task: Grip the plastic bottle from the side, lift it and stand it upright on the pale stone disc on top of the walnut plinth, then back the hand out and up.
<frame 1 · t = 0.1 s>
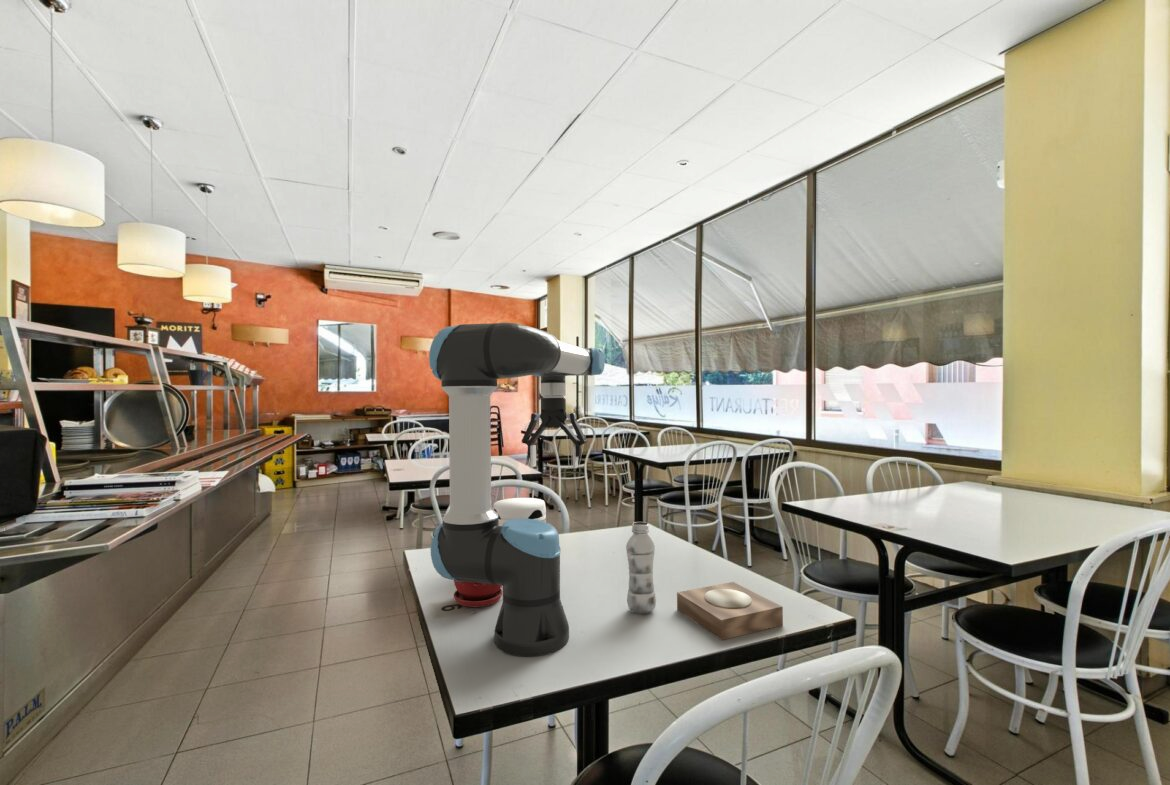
hand: (554, 467, 155), 28 cm above the table, tool pointing down, fingers open, 13 cm apart
plastic bottle: (641, 612, 117), on the table
milk container: (520, 564, 152), on the table
plant pot: (480, 601, 124), on the table
walnut plinth: (728, 617, 113), on the table
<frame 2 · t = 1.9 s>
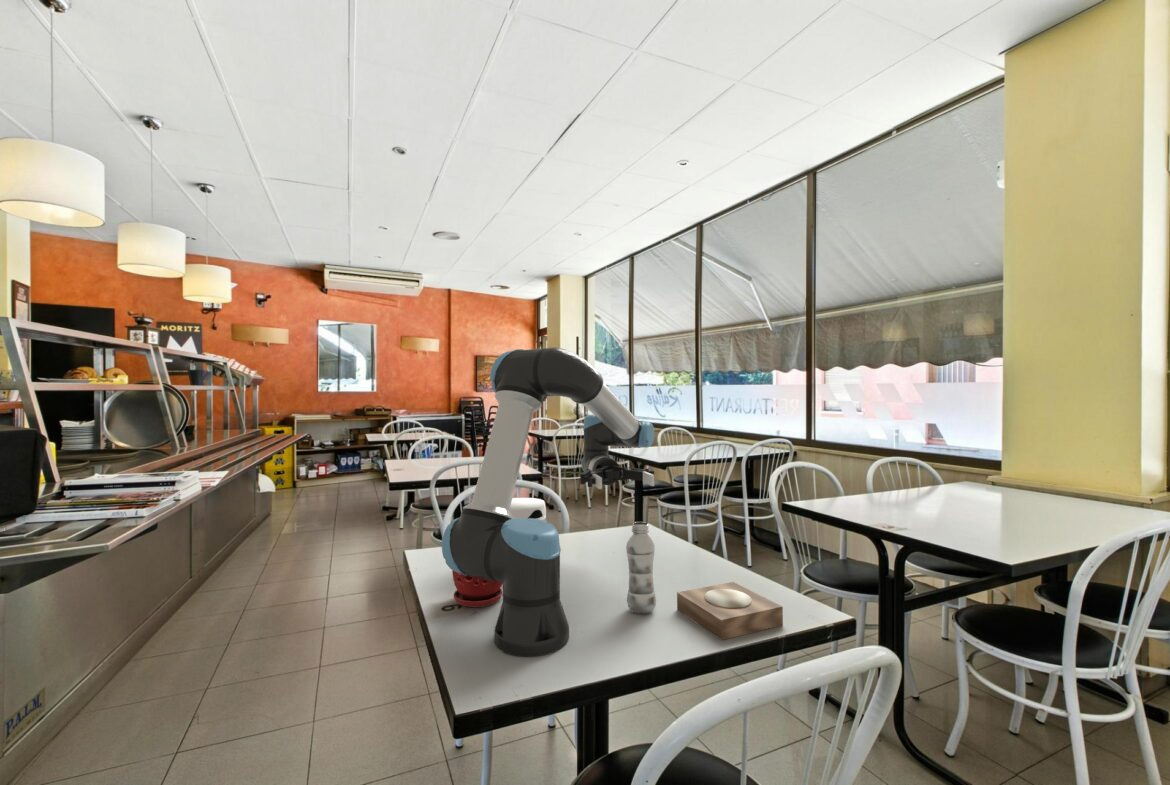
hand: (627, 482, 126), 28 cm above the table, tool horizontal, fingers open, 13 cm apart
nothing on the table moved.
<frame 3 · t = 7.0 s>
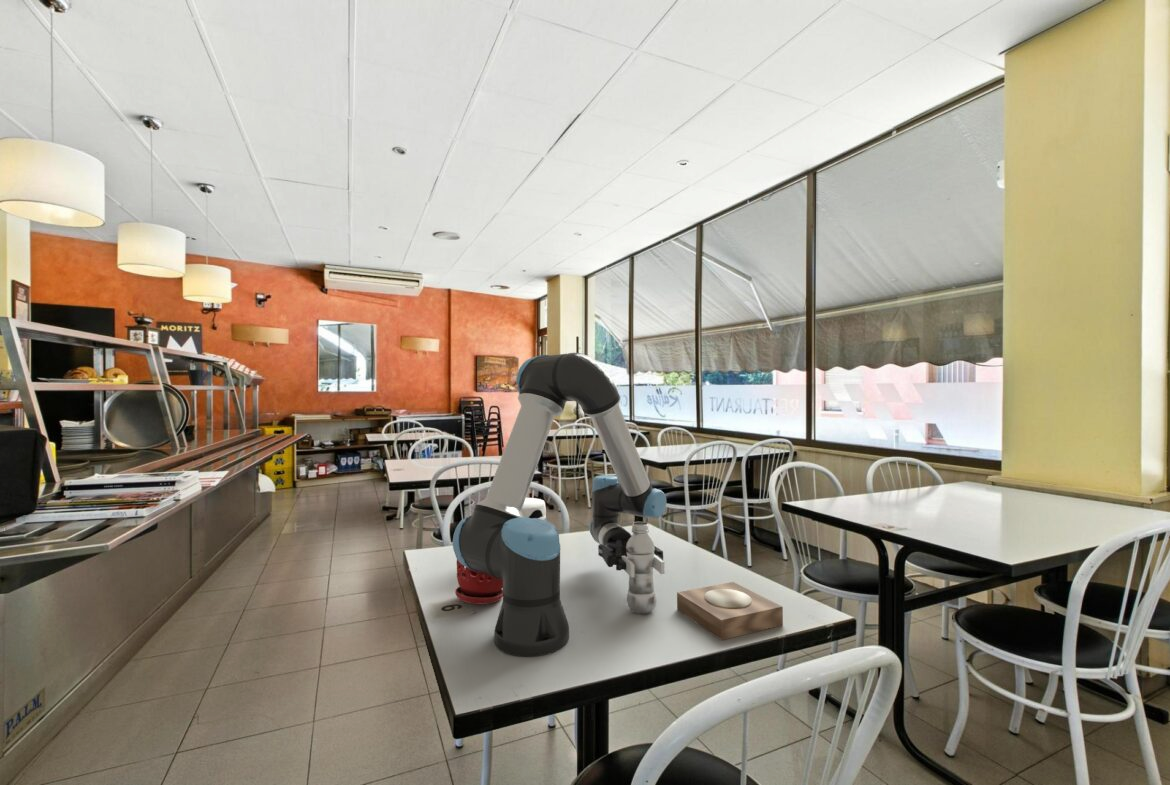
hand: (647, 569, 112), 11 cm above the table, tool horizontal, fingers closed on plastic bottle, 6 cm apart
plastic bottle: (641, 612, 117), on the table, touching gripper
plant pot: (480, 599, 124), on the table, touching arm
everything else where it was.
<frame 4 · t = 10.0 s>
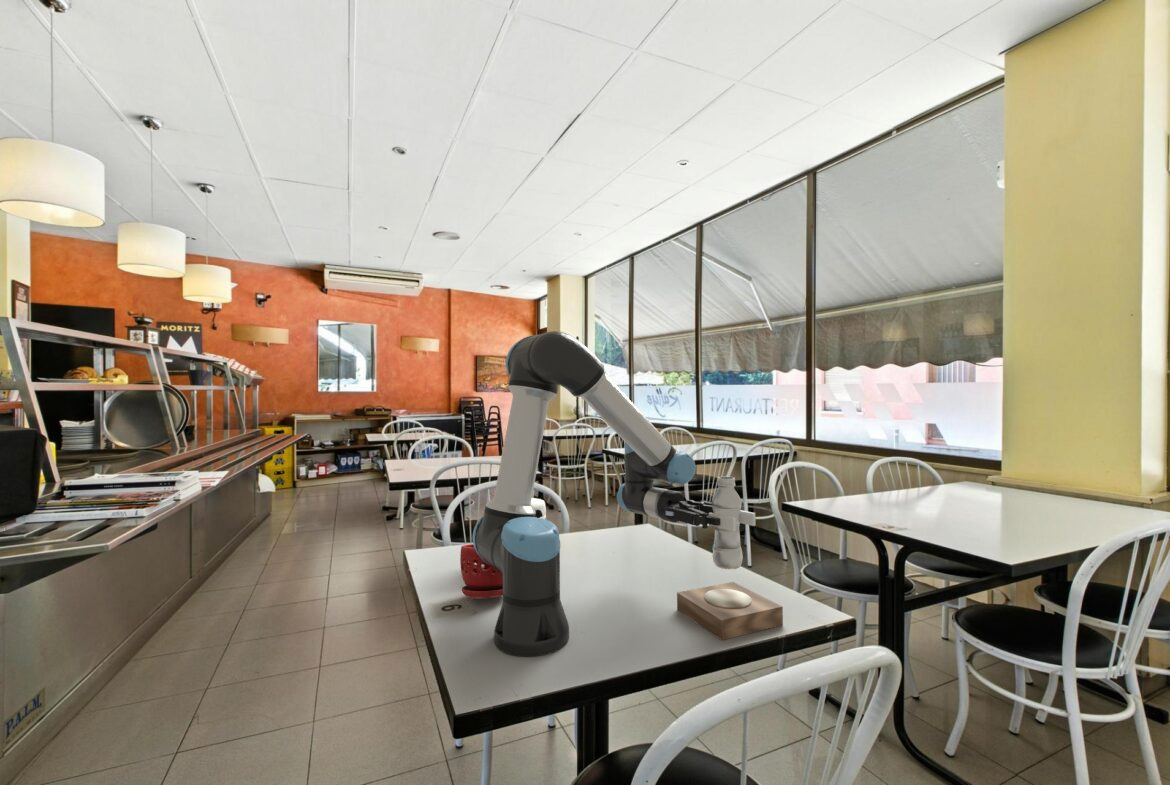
hand: (744, 522, 110), 22 cm above the table, tool horizontal, fingers closed on plastic bottle, 6 cm apart
plastic bottle: (727, 568, 113), point 11 cm above the table, touching gripper
plant pot: (487, 596, 125), point 1 cm above the table, touching arm
everything else where it was.
when the fingers open (17 cm above the table, at t = 11.6 s): plastic bottle drops 1 cm, resting on walnut plinth.
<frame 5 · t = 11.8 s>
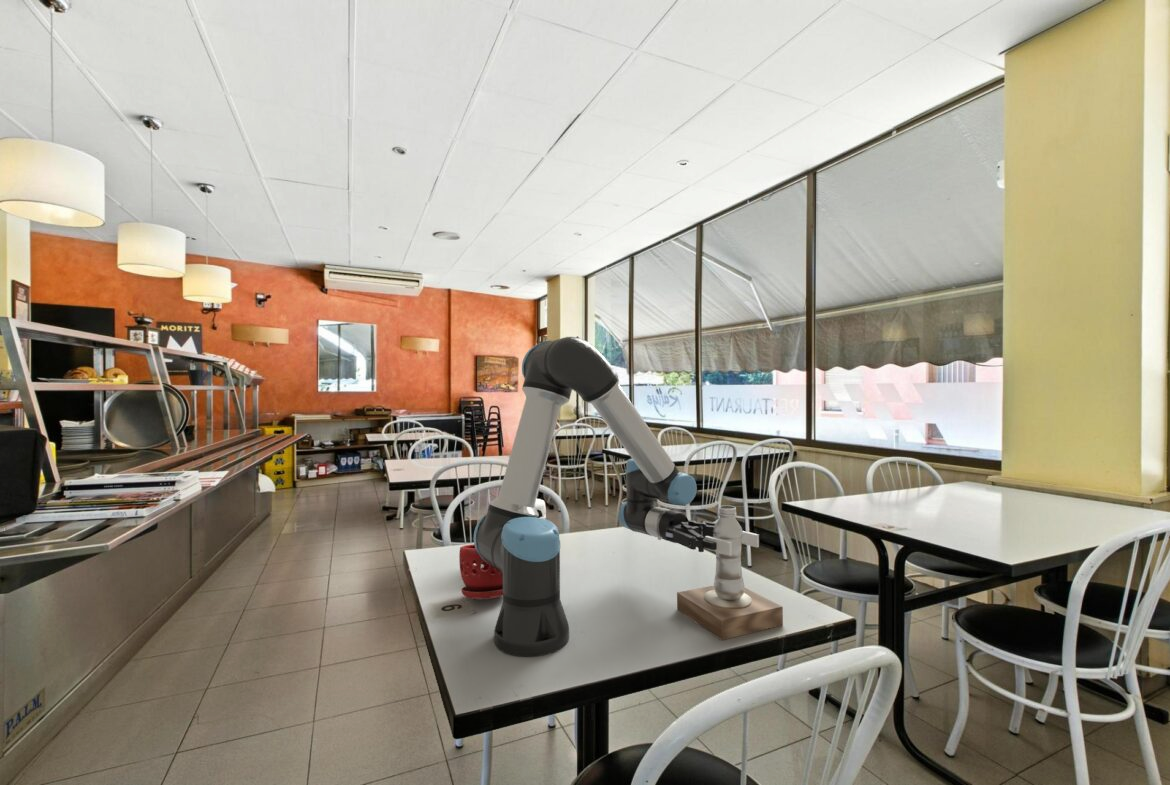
hand: (744, 545, 109), 17 cm above the table, tool horizontal, fingers open, 9 cm apart
plastic bottle: (729, 598, 113), point 4 cm above the table, touching walnut plinth
everything else where it was.
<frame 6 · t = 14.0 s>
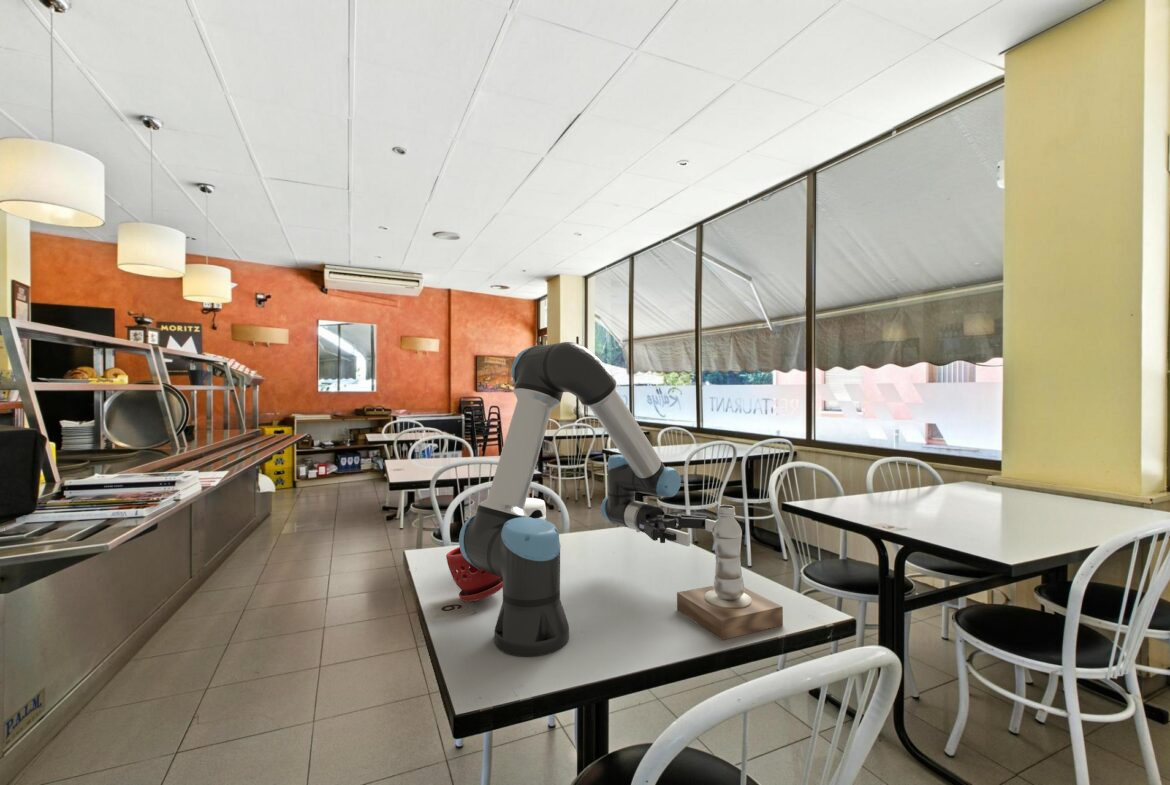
hand: (709, 534, 117), 17 cm above the table, tool horizontal, fingers open, 13 cm apart
plant pot: (486, 593, 125), point 1 cm above the table
everything else where it was.
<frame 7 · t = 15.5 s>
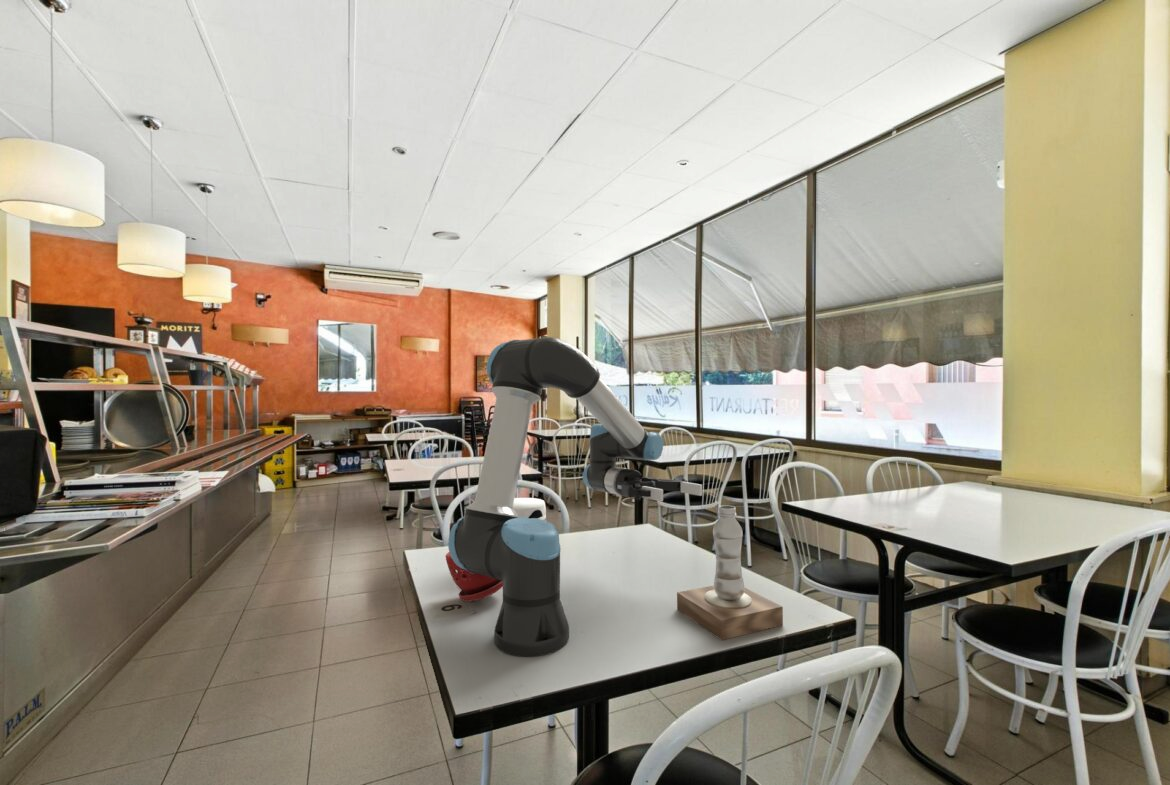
hand: (682, 492, 123), 26 cm above the table, tool horizontal, fingers open, 13 cm apart
nothing on the table moved.
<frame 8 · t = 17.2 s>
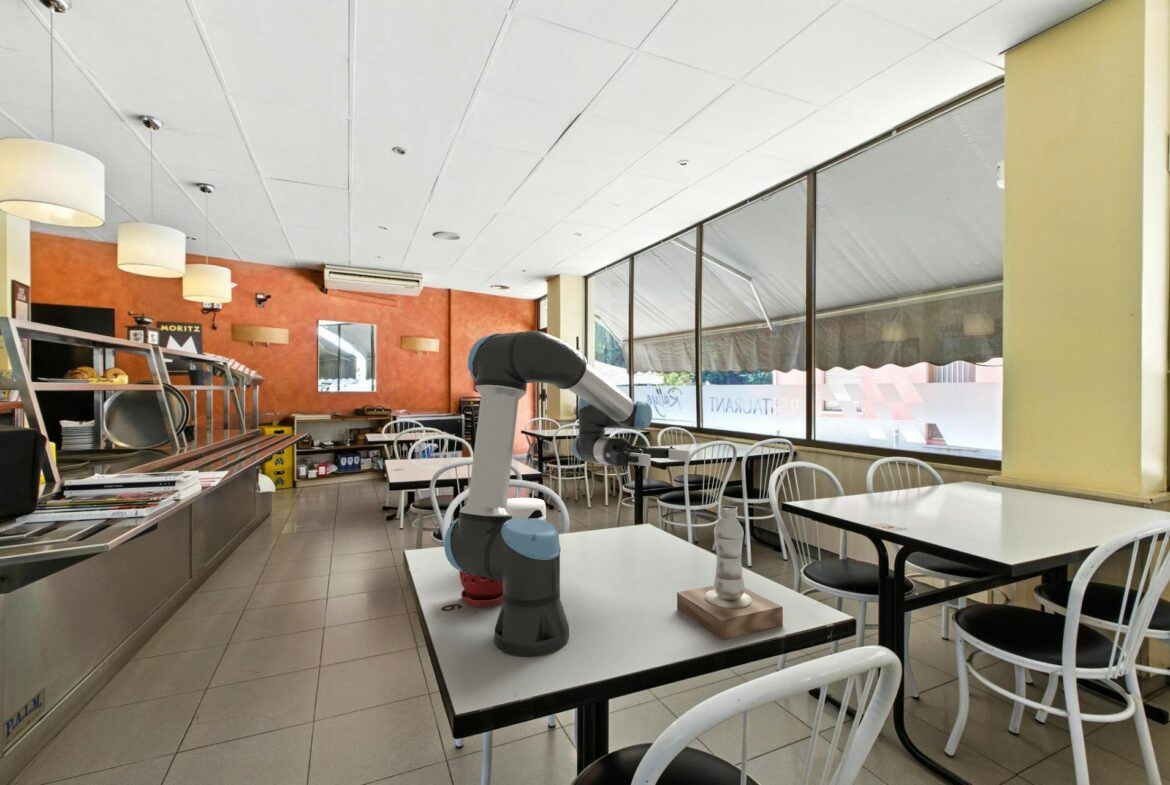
hand: (669, 458, 124), 34 cm above the table, tool horizontal, fingers open, 13 cm apart
plant pot: (487, 600, 125), on the table
everything else where it was.
at the end: plastic bottle inside the target area on the walnut plinth (0.4 cm from its centre), point 4.2 cm above the walnut plinth's base; plastic bottle tilted 0°; the gripper is holding nothing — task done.
